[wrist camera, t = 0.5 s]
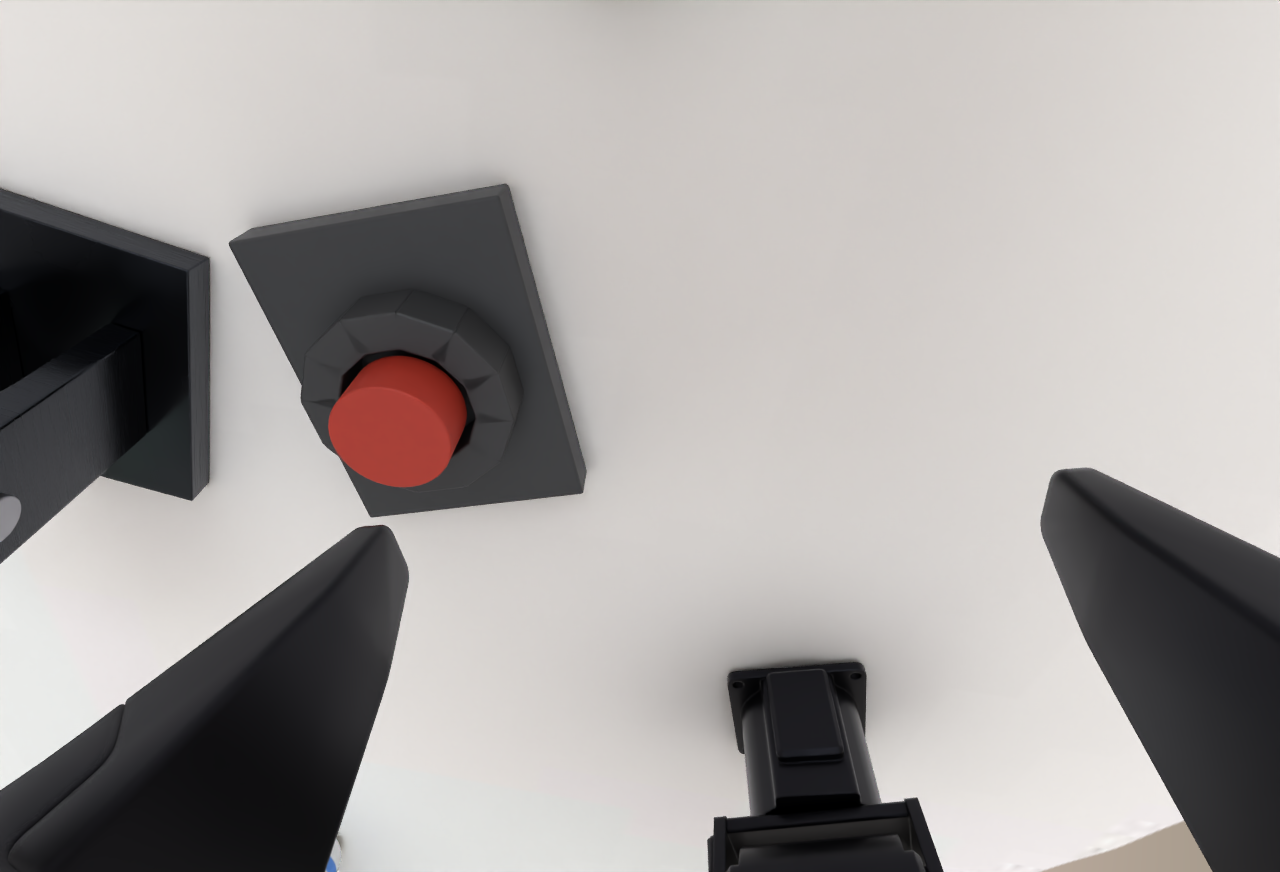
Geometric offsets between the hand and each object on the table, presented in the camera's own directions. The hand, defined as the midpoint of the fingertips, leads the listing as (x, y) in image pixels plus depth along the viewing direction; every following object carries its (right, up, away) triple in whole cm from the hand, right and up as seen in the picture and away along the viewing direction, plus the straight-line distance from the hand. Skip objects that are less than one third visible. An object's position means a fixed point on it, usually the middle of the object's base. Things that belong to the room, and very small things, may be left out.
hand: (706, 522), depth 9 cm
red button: (-8, +2, +12) cm, 15 cm away
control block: (-8, +4, +15) cm, 17 cm away
